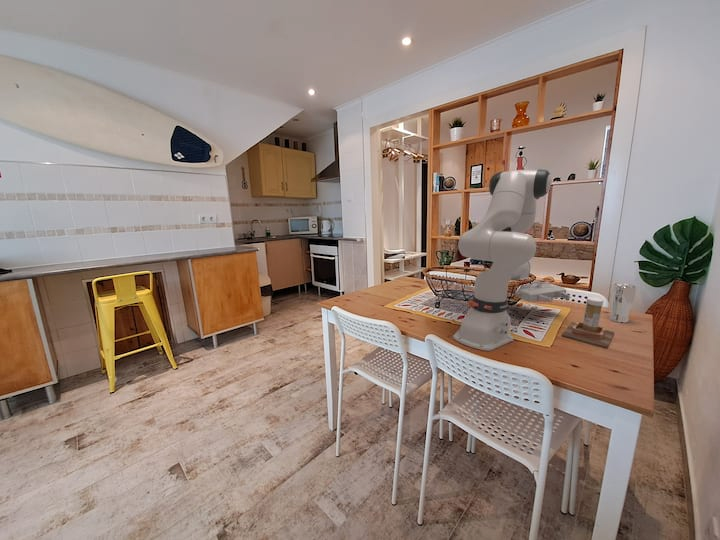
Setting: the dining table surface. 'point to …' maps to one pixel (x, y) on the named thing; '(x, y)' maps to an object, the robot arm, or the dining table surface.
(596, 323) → the sprinkles bottle
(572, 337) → the tube stand
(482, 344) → the robot arm
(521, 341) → the dining table surface
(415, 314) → the dining table surface
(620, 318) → the beer glass
